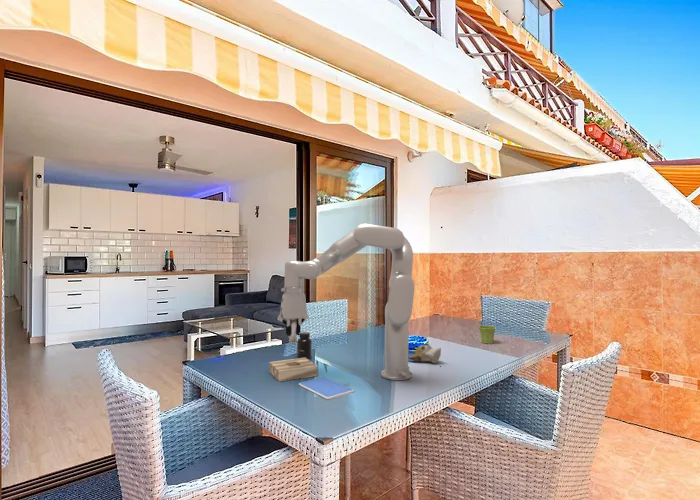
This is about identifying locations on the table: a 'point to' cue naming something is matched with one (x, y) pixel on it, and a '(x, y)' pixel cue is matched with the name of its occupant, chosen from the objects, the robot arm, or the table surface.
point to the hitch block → (293, 369)
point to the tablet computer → (326, 388)
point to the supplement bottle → (304, 346)
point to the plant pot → (487, 334)
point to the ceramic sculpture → (426, 354)
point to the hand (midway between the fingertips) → (293, 334)
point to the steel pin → (293, 331)
